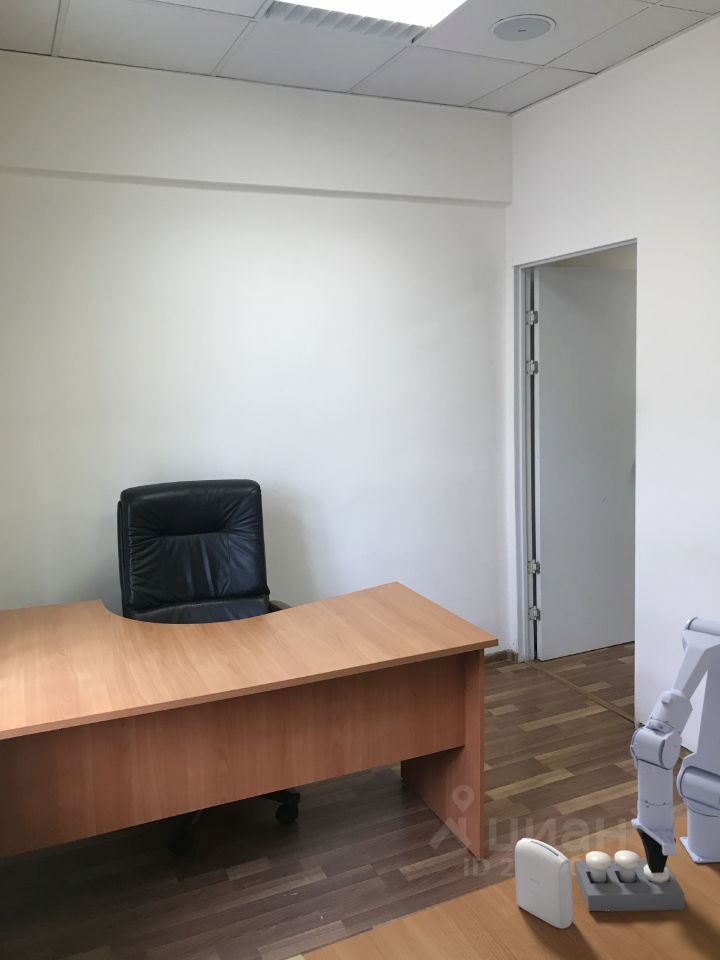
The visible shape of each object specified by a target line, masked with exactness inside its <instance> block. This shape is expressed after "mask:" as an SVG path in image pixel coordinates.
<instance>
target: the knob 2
mask: <svg viewBox="0 0 720 960" xmlns="http://www.w3.org/2000/svg"><path fill="white" fill-rule="evenodd" d="M644 877H645V878H646V879H647V880H649V882H655V883H664V882H667V881H668V880H669V870H668V869H667V868H666V867H665V869H664V872H663V873H651V871H650V869H649V867H648V864H647V865H645V866H644Z"/></svg>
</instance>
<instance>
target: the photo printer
mask: <svg viewBox="0 0 720 960" xmlns="http://www.w3.org/2000/svg"><path fill="white" fill-rule="evenodd" d="M514 848H515V849H514V870H515V871H514V873H515V875H514V876H515V877H514V878H515V897H516V904H517V906H518V907H520V908H521V909H523V910H525V911H527V912H528V913H530V914H531V915H533V916H535V917H537V918H539V919H541V920H542V921H544V922H546V923H547V924H549V925H551V926H553V927H555V928H558V929H561V930H563V929H565V928H566V929H567V928H569V927H570V926H571V925H572V921H573V918H574V907H573V906H574V904H573V885H572V884H573V882H572V881H573V880H572V863H571V861H570V860H569V859H568V858H567V856H565V854H563V853H562V852H560V851H559V850H558V849H556V848H554V847H553V846H552V845H549V844H548V843H547V842H546V843H545V842H543V841H540V840H538V839H534V838H529V837H523V838H522V839H520V840H518V841H517V843H516V845H515V847H514Z"/></svg>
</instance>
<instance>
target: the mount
mask: <svg viewBox="0 0 720 960" xmlns="http://www.w3.org/2000/svg"><path fill="white" fill-rule="evenodd" d="M647 864H648V863H647V859H645V858H644V859H642V858H640V866H639V867H638V868H637V869H635V881H634V882H631V883H627V882H624V881H622V880H621V879H620V867H619V866H617V865H616V864H615V859H611V867H610V868H609V869H607V870H606V882H605V883H595V882H593V881H592V880H591V868H590V867H588V866H587V864H586V860H580V861H579V860H576V861H574V875H575V874H576V877H577V880H576V882H577V881H578V883H579V885H578V887H579V886H580V888H579V890H580V889H581V891H582V893H581V895H582V894H583V896H584V899H585V901H584V903H585V902H586V904H585V906H586V905H587V906H586V908H587V907H588V909H587V912H588V911H606V910H607V911H608V910H609V912H638V911H639V912H640V911H643V912H644V911H646V912H647V911H680V910H681V911H682V910H685V892H684V891H683V888H682V887H681V885H680V884H679V882H678V880H677V878H676V877H675V875H674V873H673V871H672V870H671V868H670V866H669V865H668V863H667V862H666V865H665V867H666V868H667V869H668V870H669V880H668V881H667V882H664V883H655V882H649V880H647V879H646V878H645V877H644V866H645V865H647ZM578 883H577V884H578ZM581 891H580V892H581ZM583 896H582V897H583ZM584 899H583V900H584Z"/></svg>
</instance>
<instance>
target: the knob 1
mask: <svg viewBox="0 0 720 960" xmlns="http://www.w3.org/2000/svg"><path fill="white" fill-rule="evenodd" d="M611 860H612V858H611V856H610V855H609V854H607V853H605V852H603V851H597V850H594V851H590V852H588V853H586V855H585V861H586V864H587V866H588V867H590V868H591V880H592V881H593V882H595V883H605V882H606V870H607V869H609V868H610V867H611Z"/></svg>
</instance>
